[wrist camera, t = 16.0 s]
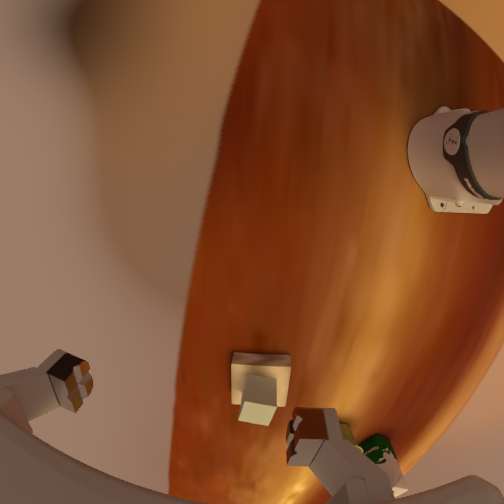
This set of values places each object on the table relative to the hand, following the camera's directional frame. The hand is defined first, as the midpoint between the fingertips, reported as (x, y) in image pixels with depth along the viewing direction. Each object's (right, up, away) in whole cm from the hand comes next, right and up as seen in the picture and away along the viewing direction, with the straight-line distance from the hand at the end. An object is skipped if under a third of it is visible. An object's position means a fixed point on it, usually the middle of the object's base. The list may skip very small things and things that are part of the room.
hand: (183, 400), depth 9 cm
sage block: (+4, -18, +36) cm, 41 cm away
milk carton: (+34, -44, +45) cm, 71 cm away
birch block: (+4, -17, +40) cm, 44 cm away
